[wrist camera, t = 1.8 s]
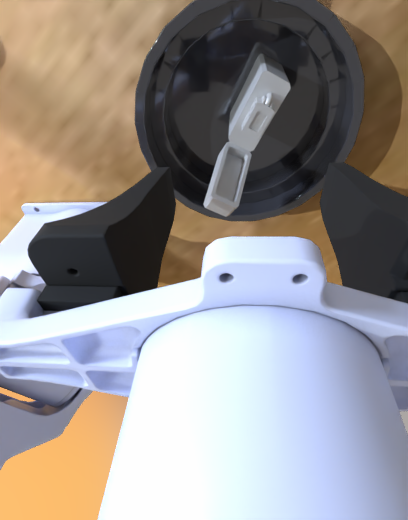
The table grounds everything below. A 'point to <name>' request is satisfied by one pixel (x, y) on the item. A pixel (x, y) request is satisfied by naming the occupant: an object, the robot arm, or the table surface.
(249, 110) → the lighter
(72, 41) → the table surface
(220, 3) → the pan
